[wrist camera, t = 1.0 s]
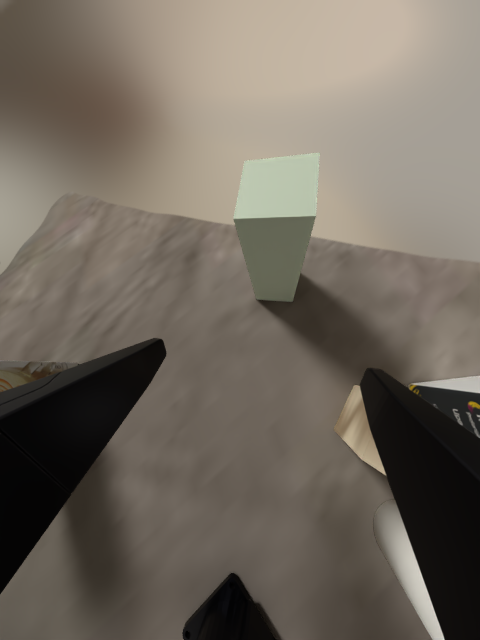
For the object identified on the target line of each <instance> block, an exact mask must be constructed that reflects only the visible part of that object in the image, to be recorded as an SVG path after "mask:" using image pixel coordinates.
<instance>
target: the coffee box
mask: <svg viewBox="0 0 480 640" xmlns="http://www.w3.org/2000/svg"><path fill="white" fill-rule="evenodd" d="M77 365H78V363H70V362H32V361H0V392H2V391H5V390H8V389H11V388H14V387H17V386H20V385H23V384H26V383H29V382H32V381H35V380H38V379H41V378H44V377H47V376H49V375H52V374H55V373H58V372H62V371H63V370H66V369H69V368H72V367H75V366H77Z"/></svg>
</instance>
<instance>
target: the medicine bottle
mask: <svg viewBox="0 0 480 640" xmlns="http://www.w3.org/2000/svg"><path fill="white" fill-rule="evenodd" d="M409 389H410V390H411V391H413V392H414V393H416V394H417V395H419V396H420V397H421V398H423V399H424V400H426V401H427V402H429V403H430V404H432V405H433V406H434V407H436V408H437V409H439V410H440V411H442V412H443V413H445V414H446V415H447V416H449V417H450V418H452V419H453V420H455V421H456V422H457V423H459V424H460V425H462V426H463V427H465V428H466V429H468V430H469V431H470V432H472V433H473V434H475V435H476V436H478V437H479V438H480V376H472V377H464V378H455V379H446V380H437V381H429V382H420V383H412V384H409Z"/></svg>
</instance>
